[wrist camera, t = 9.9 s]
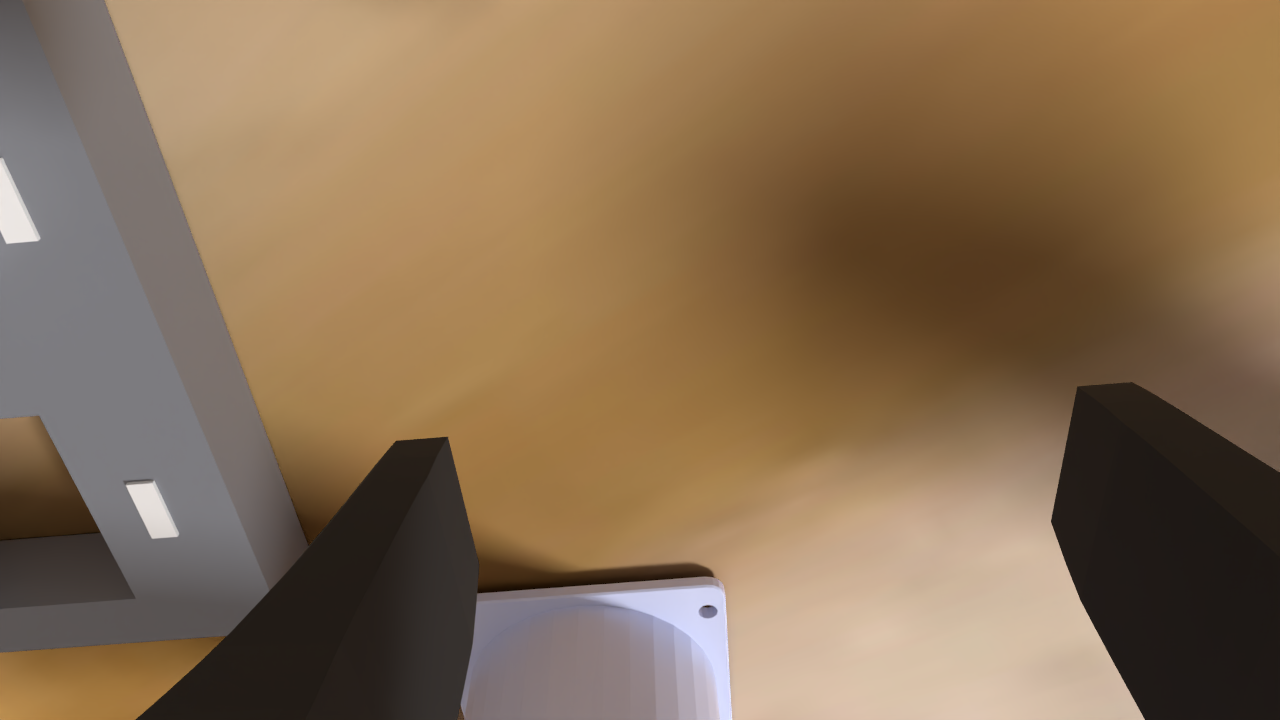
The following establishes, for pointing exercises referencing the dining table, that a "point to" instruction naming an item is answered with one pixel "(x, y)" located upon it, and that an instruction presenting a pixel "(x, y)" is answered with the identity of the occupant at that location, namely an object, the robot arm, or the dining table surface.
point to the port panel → (120, 362)
